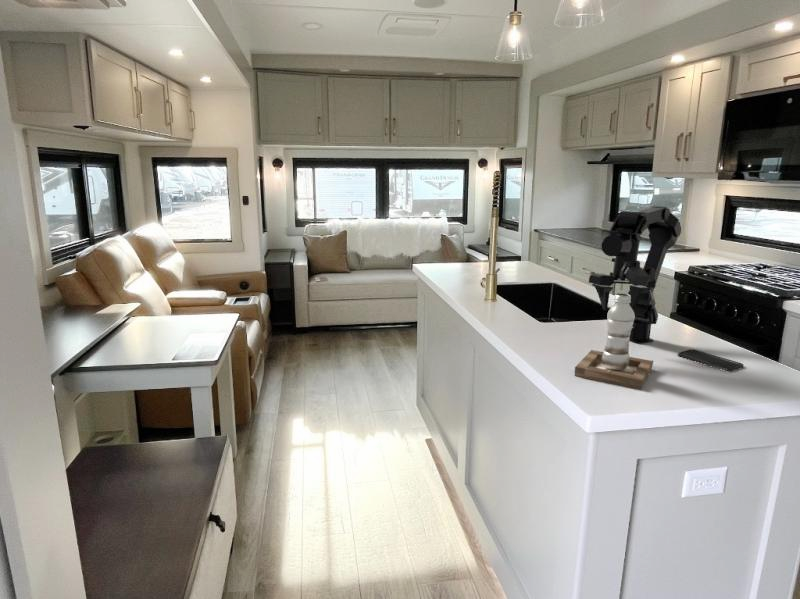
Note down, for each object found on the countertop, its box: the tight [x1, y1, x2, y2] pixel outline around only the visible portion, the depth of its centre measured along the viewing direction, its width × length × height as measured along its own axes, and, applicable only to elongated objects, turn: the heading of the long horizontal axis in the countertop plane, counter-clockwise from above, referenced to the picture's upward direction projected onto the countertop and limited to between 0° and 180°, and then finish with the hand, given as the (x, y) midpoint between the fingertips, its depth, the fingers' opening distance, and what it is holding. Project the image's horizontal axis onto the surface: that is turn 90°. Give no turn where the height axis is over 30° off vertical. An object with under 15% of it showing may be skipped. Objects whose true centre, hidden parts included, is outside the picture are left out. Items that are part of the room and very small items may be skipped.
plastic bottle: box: [602, 293, 635, 370], centre depth 140 cm, size 6×7×20 cm
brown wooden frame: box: [574, 349, 654, 390], centre depth 142 cm, size 16×16×3 cm
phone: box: [677, 348, 744, 372], centre depth 151 cm, size 8×1×15 cm
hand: (618, 310), depth 156 cm, fingers open, 9 cm apart
